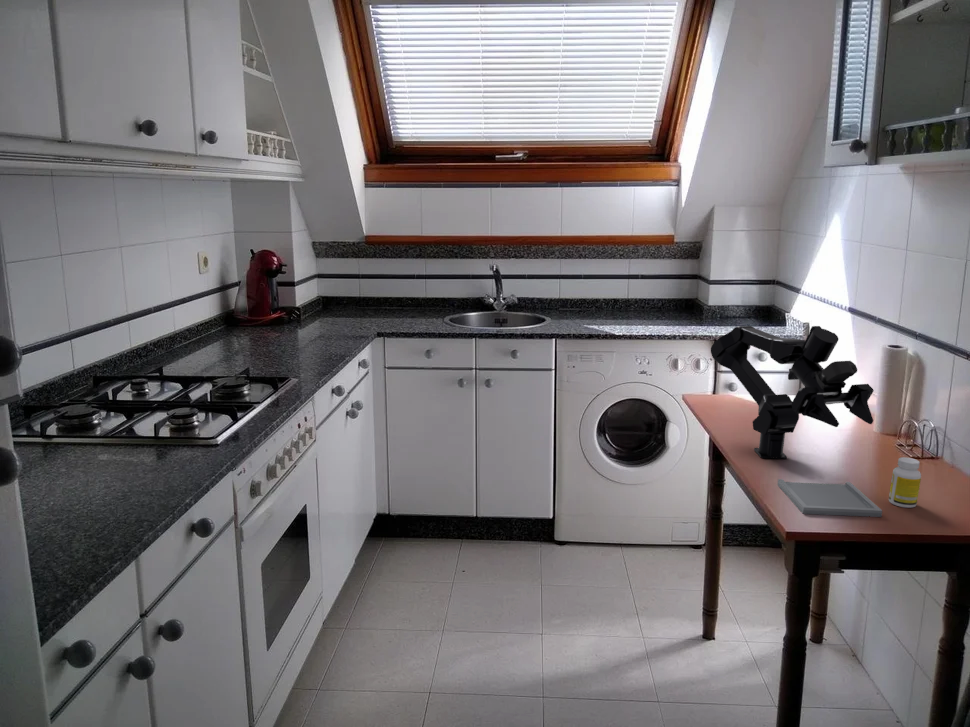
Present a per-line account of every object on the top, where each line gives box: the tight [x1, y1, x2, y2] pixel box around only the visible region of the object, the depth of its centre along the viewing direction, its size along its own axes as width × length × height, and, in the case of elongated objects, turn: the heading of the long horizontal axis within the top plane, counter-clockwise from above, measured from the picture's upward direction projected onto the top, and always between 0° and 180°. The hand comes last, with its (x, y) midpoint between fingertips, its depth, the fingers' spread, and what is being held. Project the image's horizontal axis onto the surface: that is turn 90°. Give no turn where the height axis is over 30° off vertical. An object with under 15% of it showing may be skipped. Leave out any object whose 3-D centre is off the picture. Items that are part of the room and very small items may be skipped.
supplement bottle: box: [888, 456, 922, 509], centre depth 170 cm, size 5×5×10 cm
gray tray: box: [777, 478, 883, 518], centre depth 171 cm, size 16×16×1 cm
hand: (854, 424), depth 172 cm, fingers open, 9 cm apart
